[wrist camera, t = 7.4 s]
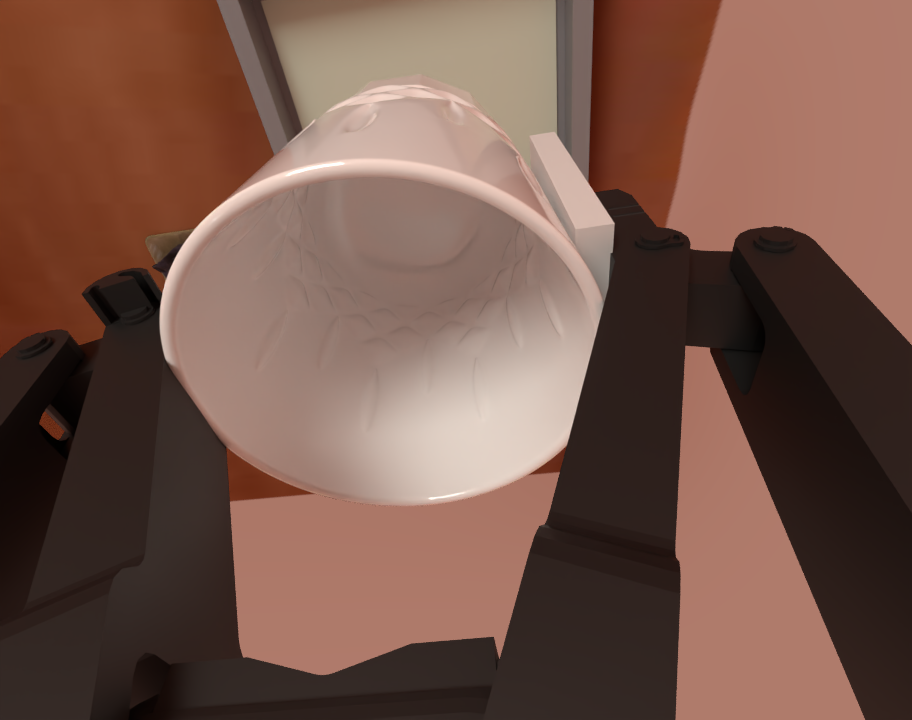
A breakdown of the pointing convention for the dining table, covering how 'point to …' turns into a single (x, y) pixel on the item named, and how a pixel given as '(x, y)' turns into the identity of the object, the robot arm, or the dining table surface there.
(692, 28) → the dining table surface
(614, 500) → the robot arm
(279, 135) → the gray divided tray
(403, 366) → the white cup
